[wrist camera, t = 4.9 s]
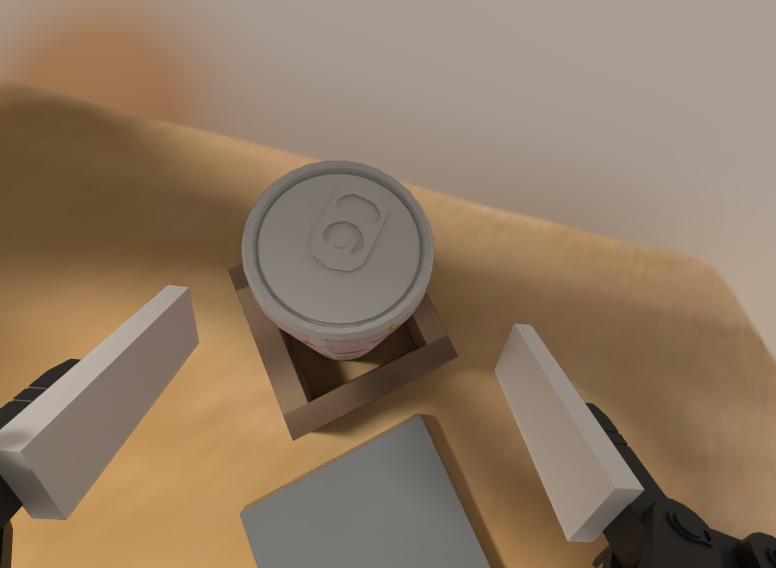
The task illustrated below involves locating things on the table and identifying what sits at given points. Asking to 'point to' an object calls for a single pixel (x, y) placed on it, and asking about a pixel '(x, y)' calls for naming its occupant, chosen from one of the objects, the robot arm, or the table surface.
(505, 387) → the robot arm
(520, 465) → the table surface
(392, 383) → the can caddy
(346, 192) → the beverage can
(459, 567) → the coaster
